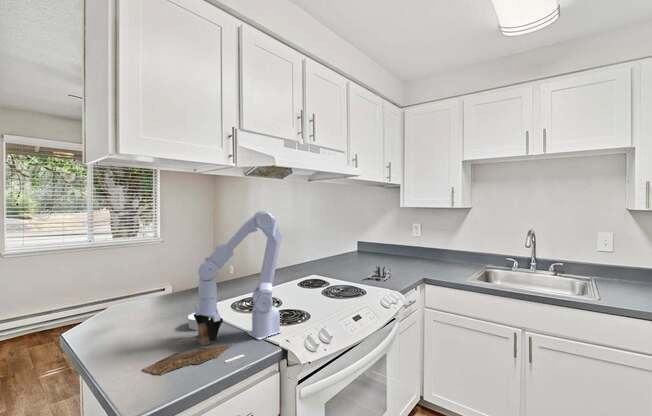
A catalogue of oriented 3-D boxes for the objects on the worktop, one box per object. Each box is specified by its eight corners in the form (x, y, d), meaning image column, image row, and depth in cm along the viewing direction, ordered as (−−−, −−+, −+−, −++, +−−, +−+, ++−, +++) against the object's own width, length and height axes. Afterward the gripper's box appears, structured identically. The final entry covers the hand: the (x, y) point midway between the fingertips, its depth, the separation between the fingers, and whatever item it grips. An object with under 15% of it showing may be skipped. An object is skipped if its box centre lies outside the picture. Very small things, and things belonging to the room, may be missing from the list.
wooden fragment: (144, 381, 83) (144, 377, 83) (139, 364, 92) (139, 360, 92) (239, 354, 98) (239, 350, 98) (227, 342, 107) (227, 338, 107)
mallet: (212, 337, 110) (212, 320, 110) (217, 340, 107) (217, 323, 107) (176, 348, 101) (176, 329, 101) (181, 352, 99) (181, 333, 98)
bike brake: (374, 273, 210) (362, 284, 193) (374, 263, 209) (361, 273, 192) (394, 276, 203) (383, 287, 186) (394, 266, 202) (382, 276, 185)
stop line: (242, 354, 97) (242, 354, 97) (244, 356, 96) (244, 355, 96) (224, 361, 92) (224, 360, 92) (226, 363, 92) (226, 362, 92)
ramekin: (216, 326, 120) (216, 315, 120) (192, 333, 114) (192, 321, 113) (207, 320, 126) (207, 309, 126) (184, 326, 120) (184, 315, 120)
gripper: (187, 295, 109) (187, 334, 109) (205, 304, 98) (205, 347, 99) (207, 291, 114) (207, 328, 114) (226, 299, 103) (226, 340, 103)
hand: (207, 336), depth 107 cm, fingers open, 7 cm apart
